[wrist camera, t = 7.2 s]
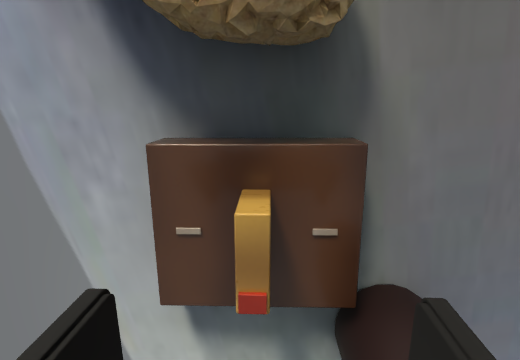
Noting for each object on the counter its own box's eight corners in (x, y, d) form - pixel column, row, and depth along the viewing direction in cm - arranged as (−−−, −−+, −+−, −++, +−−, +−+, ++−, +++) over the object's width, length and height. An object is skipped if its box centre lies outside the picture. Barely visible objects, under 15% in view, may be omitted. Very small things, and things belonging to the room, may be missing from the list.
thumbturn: (241, 188, 18) (233, 215, 13) (270, 189, 18) (271, 215, 13) (242, 270, 19) (235, 317, 15) (269, 270, 19) (269, 318, 15)
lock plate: (354, 137, 20) (369, 144, 17) (344, 281, 22) (356, 310, 19) (163, 137, 20) (143, 144, 17) (174, 279, 22) (159, 307, 19)
